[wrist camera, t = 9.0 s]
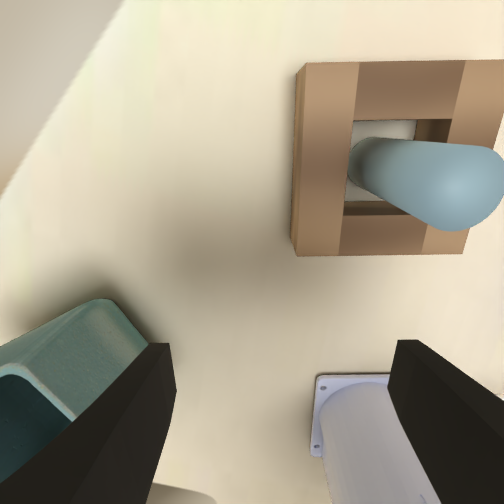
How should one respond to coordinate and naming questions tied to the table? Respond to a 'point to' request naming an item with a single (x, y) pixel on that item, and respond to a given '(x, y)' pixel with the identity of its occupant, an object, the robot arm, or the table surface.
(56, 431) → the flower pot
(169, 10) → the table surface
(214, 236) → the table surface
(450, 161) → the blue-gray dowel
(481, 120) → the open cardboard frame
